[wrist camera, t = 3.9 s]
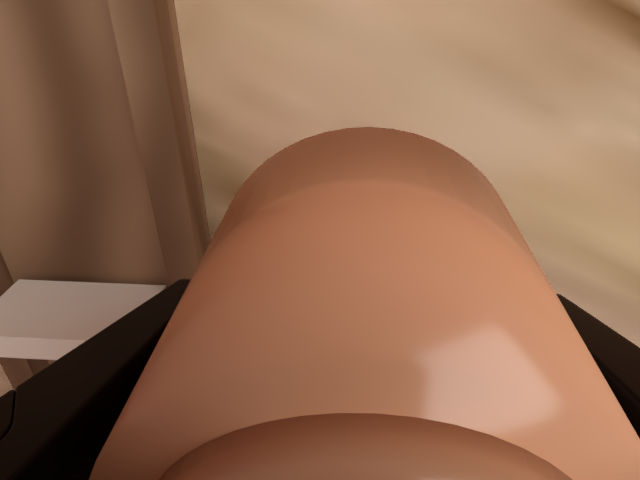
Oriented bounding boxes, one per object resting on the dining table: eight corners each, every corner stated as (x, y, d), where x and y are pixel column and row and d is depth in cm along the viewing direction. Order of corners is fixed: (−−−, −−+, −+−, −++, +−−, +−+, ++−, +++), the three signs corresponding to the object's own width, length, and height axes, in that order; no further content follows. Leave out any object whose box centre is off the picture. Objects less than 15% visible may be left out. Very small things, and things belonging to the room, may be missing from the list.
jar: (547, 129, 8) (900, 461, 3) (485, 377, 11) (595, 750, 6) (201, 124, 8) (-64, 403, 3) (235, 364, 11) (132, 704, 6)
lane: (159, -91, 15) (88, -108, 11) (238, 430, 28) (219, 506, 25) (-171, -87, 16) (-347, -100, 12) (59, 419, 29) (12, 491, 25)
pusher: (165, 285, 22) (131, 342, 19) (170, 305, 22) (137, 364, 19) (18, 279, 22) (-40, 334, 19) (27, 299, 23) (-28, 355, 20)
